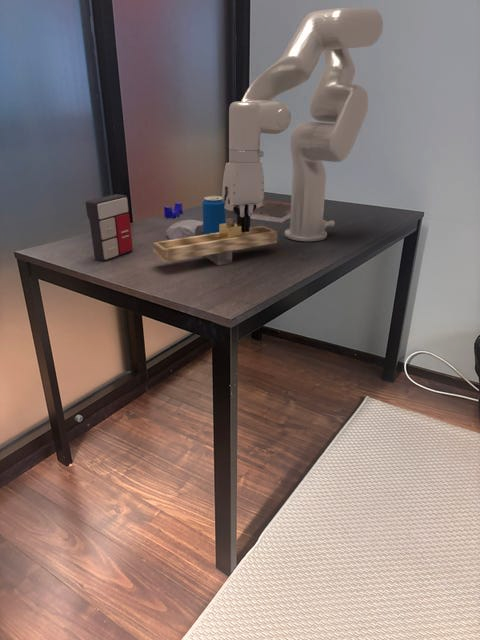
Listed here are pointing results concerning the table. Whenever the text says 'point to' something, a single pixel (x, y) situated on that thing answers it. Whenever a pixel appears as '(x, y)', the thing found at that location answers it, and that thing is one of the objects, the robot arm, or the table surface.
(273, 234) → the beam
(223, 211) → the beverage can
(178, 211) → the cable holder
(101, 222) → the drawer cabinet
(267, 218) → the picture frame
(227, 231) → the rider
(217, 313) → the table surface
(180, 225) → the stone block
